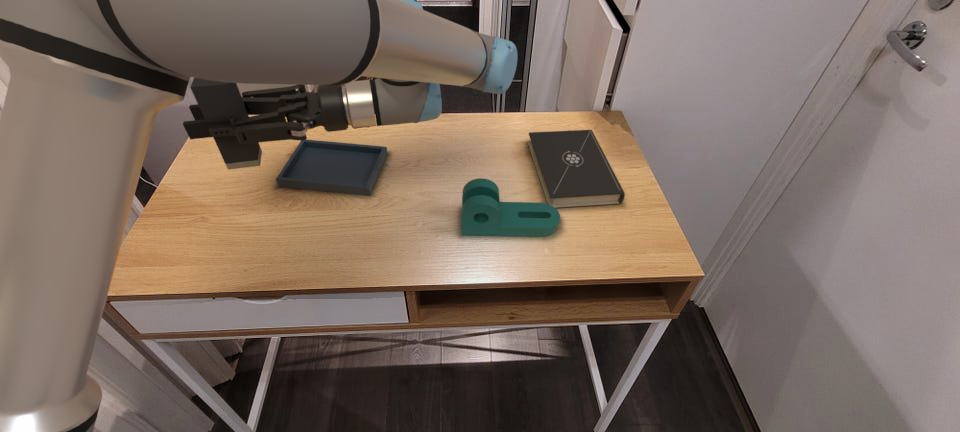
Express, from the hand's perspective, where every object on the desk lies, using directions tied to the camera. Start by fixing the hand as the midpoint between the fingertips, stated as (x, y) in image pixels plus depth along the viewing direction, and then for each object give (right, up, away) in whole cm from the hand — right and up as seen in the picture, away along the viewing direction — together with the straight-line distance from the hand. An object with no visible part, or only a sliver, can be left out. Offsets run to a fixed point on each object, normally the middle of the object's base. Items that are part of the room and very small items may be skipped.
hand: (190, 121), depth 70 cm
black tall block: (+5, -5, +7) cm, 10 cm away
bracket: (+50, -16, +15) cm, 55 cm away
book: (+64, -5, +27) cm, 69 cm away
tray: (+15, -5, +25) cm, 29 cm away
